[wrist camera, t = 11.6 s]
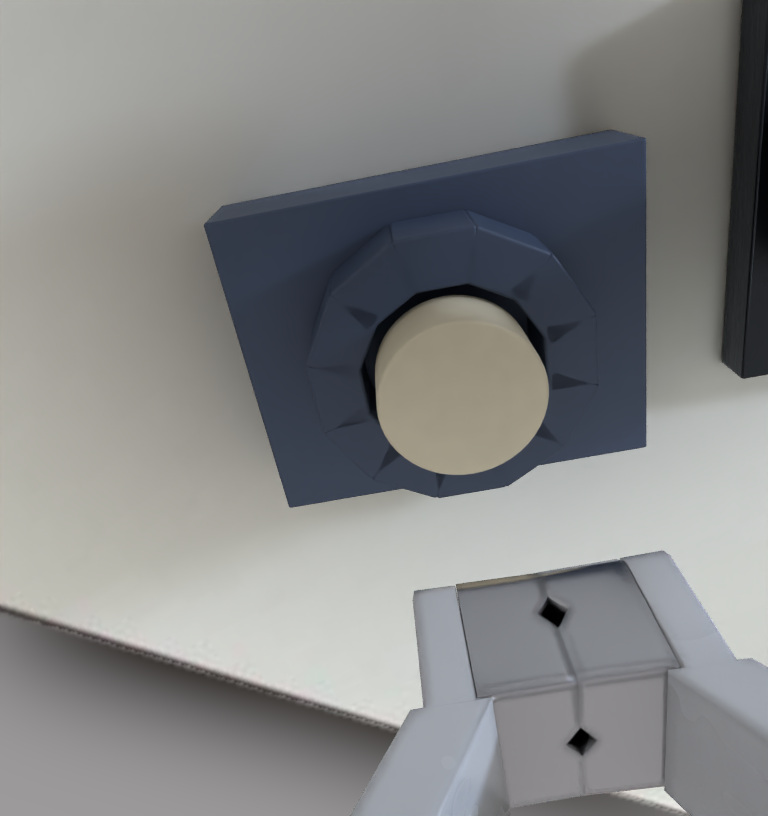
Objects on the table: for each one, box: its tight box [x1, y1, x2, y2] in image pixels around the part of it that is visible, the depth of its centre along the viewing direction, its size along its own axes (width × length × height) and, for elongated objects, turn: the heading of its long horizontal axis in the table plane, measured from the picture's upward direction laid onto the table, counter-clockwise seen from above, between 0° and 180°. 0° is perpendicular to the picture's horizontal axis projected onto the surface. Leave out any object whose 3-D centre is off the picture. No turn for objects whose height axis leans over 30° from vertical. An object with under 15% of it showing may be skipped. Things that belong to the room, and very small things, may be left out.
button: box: [375, 295, 549, 475], centre depth 15 cm, size 4×4×2 cm
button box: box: [204, 130, 646, 507], centre depth 17 cm, size 8×10×4 cm
